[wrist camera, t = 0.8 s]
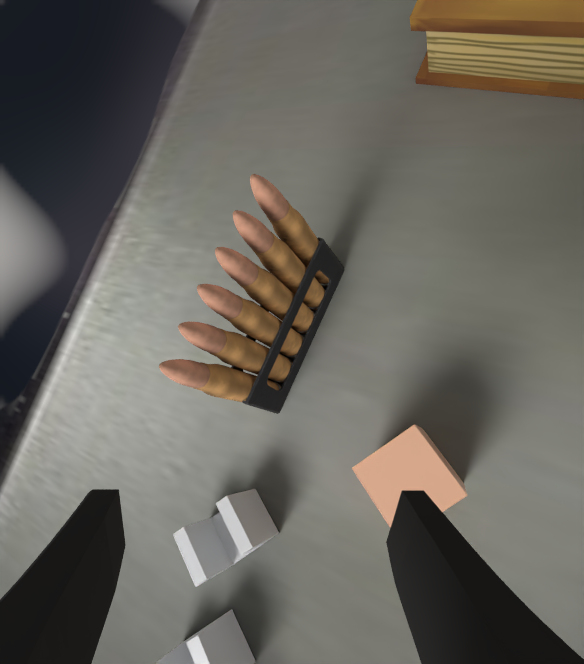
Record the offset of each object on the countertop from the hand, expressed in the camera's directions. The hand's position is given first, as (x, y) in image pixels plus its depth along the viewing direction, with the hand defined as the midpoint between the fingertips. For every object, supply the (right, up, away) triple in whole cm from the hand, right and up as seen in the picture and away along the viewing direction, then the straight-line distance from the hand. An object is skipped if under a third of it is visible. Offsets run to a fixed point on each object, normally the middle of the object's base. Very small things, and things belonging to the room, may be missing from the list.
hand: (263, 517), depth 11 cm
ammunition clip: (+1, +5, +18) cm, 18 cm away
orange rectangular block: (+8, -3, +13) cm, 16 cm away
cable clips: (-3, -11, +15) cm, 19 cm away
